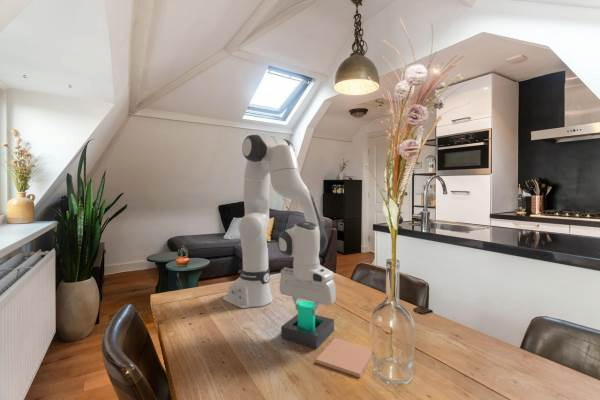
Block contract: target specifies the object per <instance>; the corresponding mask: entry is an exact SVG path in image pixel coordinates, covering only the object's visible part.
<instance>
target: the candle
mask: <svg viewBox="0 0 600 400" xmlns="http://www.w3.org/2000/svg"><path fill="white" fill-rule="evenodd" d="M315 306H316V305H314V302H313V301H308V300H299V302H298V310H297V314H298V327H301V328H304V329H308V330H311V331H314V330H315V315H314V314H313V309H314V307H315Z"/></svg>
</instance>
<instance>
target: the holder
mask: <svg viewBox="0 0 600 400" xmlns="http://www.w3.org/2000/svg"><path fill="white" fill-rule="evenodd" d="M334 332H335V319H333V318H329V317H325V316H321V315H317V314H316V315H315V330H314V331H311V330H308V329H304V328H301V327H298V313H297V314H296V315H295V316H293V317H292V318H291V319H289V320H288V321H287V322H285V323H284V324H283V325H281V332H280V333H281V334H280V335H281V339H283V340H286V341H289V342H291V343H292V342H293V343H295V344H298V345H301V346H306V347H308V348H311V349H314V350H317V349H318V348H319V347H321V345H322V344H323V343H324V342H326V340H327V339H328V338H329V337H330V336H331V335H332V334H333V333H334Z"/></svg>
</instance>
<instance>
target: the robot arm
mask: <svg viewBox="0 0 600 400" xmlns="http://www.w3.org/2000/svg"><path fill="white" fill-rule="evenodd" d="M241 152H242V154H243V156H244V158H245V159H246V165H245V170H244V176H243V177H244V178H243V195H242V196H243V197H242V198H243V202H244V203H243V204H244V216H242V218H241V219H240V221H239V224H238V232H239V239H240V245H241V250H242V251H241V252H242V268H241V269H239V270H238V272H237V273H238V274H240V275H239V277H238V278H237V279H236V280H234V281H233V282H232V283H231V284H230V285H229V287H228V293H227V294H225V295H224V296H223V298H222V300H223V301H225V302H227V303H229V304H232V305H233V306H236V307H238V308H241V309H248V308H257V307H263V306H266V305H268V304H270V303H272V301H274V300H273V299H274V298H273V295H272V290H271V285H270V273H271V272H270V267H269V249H268V243H267V242H268V240H267V238H268V237H267V230H268V229H269V226H270V190H271V189H270V188H271V187H270V185H271V186H272V189H273V190H274V192H275V193H276V194H277V195H278V196H281V197H282V198H285V199H288V200H291V201H293V202H295V203H296V204H298V205H299V206H300V207H301V209H302V212H303V216H304V219H305V221H299V222H296V223H295V224H294V225H293V226H292V228H288V229H285V230H283V231H281V232H280V234H279V236H278V239H277V245H278V247H277V248H278V250H279V252H280V253H281V254H282V255H284V257H293V261H292V262H293V263H292V265H293V268H292V267H291V268H289V267H288V266H287V267H284V268H282V269H281V270H280V280H279V293H280V295H284V296H288V297H292V301H293V304H294V305H295V310H296V311H298V302H300V300H303V301H306V300H307V301H310V302H314V305H315V307H314V309H313V314H314V315H317V314H318V311H319V307H320V305H325V306H331V305H333V304H334V303H335V302H336V299H337V290H336V289H337V288H336V283H335V281H334V279H333V278H334V274H335V273H334V271H332V270H331V269H328V268H326V267H324V266H323V265H321V264H320V263H321V261H320V257H319V256H320V255H321V254H322V253H323V252H324V251H325V250H326V248H327V246H328V244H329V243H328V241H329V239H328V235H327V233H326V231H325V229H324V226H323V225H322V222H321V221H322V220H321V217H320V214H319V212H318V209H317V206H316V202H315V198H314V195H313V192H312V191H311V188H310V187H309V186H308V185H306V184H305V182H304V181H303V179H302V177H301V173H300V168H299V162H298V159H297V156H296V152H295V146H294V143H292V142H291V141H290V140H287V139H286V138H280V137H276V136H272V135H271V136H268V135H259V134H250V135H247V136H246V137H245V138H244V140H243V142H242V151H241ZM299 299H300V300H299Z"/></svg>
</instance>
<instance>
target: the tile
mask: <svg viewBox="0 0 600 400" xmlns="http://www.w3.org/2000/svg"><path fill="white" fill-rule="evenodd" d="M372 358H373V357H372V355H371V348H370V347H367V346H364V345H361V344H357V343H352V342H351V341H347V340H343V339H339V338H333V339H332V341H331V342H330V343H329V344H328V345H327V346H326V347H325V348H324V350H323V351H322V352H321V353H320V354H319V355H318V356H317V357H316V358H315V363H316V364H320V365H322V366H325V367H328V368H330V369H334V370H336V371H340V372H343V373H345V374H349V375H352V376H354V377H357V378H361V377H362V376H363V374H364V372H365V370H366V369H367V366H368V365H369V364H370V362H371V360H372Z"/></svg>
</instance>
